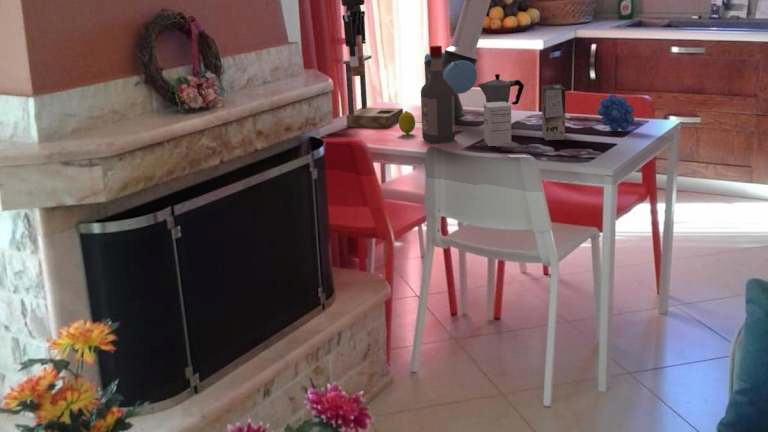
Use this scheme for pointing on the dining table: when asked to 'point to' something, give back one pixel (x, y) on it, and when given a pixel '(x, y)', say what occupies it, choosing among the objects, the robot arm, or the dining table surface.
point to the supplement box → (497, 123)
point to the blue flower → (616, 112)
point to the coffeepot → (500, 90)
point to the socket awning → (364, 114)
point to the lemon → (406, 122)
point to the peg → (358, 69)
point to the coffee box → (553, 112)
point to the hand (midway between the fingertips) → (357, 64)
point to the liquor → (437, 103)
